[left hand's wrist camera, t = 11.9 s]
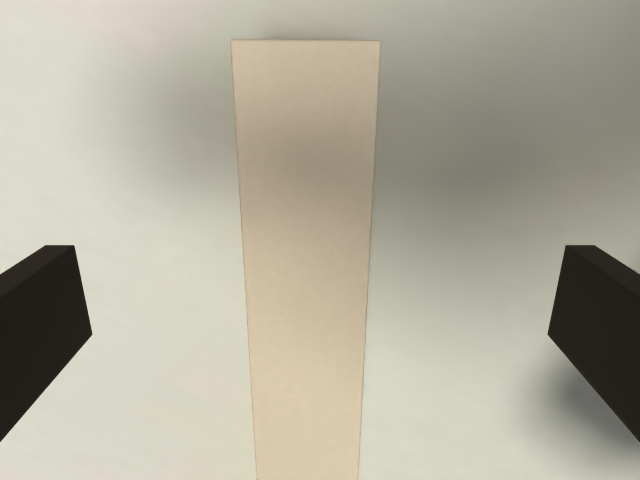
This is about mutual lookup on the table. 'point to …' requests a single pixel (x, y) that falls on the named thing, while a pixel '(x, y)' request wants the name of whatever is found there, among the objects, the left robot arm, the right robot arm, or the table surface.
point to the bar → (306, 245)
